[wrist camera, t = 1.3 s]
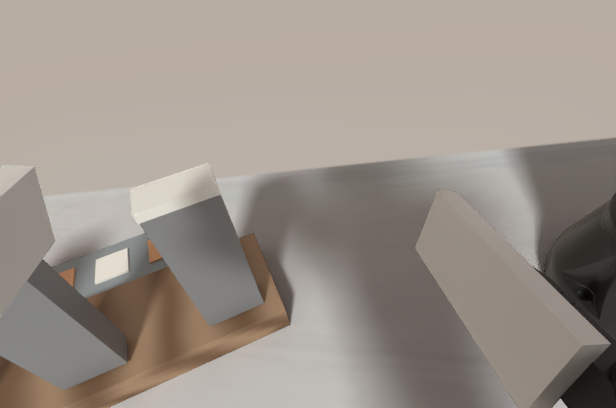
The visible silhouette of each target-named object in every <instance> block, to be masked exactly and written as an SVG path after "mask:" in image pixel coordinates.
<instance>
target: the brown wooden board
mask: <svg viewBox="0 0 616 408" xmlns="http://www.w3.org/2000/svg"><path fill="white" fill-rule="evenodd" d="M239 241H240V243H241V246H242V248H243V250H244V253H245V255H246V258H247V260H248V263H249V265H250V268H251V270H252V273H253V275H254V278H255V280H256V283H257V285H258V288H259V291H260V293H261V296H262V299H263V302H264V303H263V304H261V305H259V306H257V307H254V308H252V309H250V310H247V311H245V312H243V313H240V314H238V315H236V316H234V317H231V318H229V319H227V320H224V321H222V322H220V323H218V324H215V325H213V326H211V327H210V326H209V325H208V323H207V322H206V320H205V319H204V318H203V316H202V315H201V313H200V312H199V310H198V309H197V307H196V306H195V304H194V303H193V301H192V300H191V299H190V297H189V296H188V294H187V293H186V291H185V290H184V288H183V287H182V285H181V284H180V283H179V281H178V280H177V278H176V277H175V275H174V274H173V272H172V271H171V269H170V268H169V266H168V267H165V268H163V269H160V270H158V271H155V272H153V273H150V274H147V275H145V276H142V277H140V278H137V279H135V280H132V281H129V282H127V283H124V284H122V285H119V286H117V287H114V288H112V289H109V290H106V291H104V292H101V293H99V294H96V295H94V296H91V297H88V298H86V299H87V300H88V301H89V302H90V303H91V304H92V305H93V306H94V307H95V308H96V309H97V310H99V311H100V312H101V313H102V314H103V315H104V316H105V317H106V318H107V319H108V320H109V321H111V322H112V323H113V324H114V325H115V326H116V327H117V328H118V329H119V330H120V331H121V332H123V333H124V334H125V335H126V336H127V363H126V364H123V365H121V366H119V367H117V368H114V369H112V370H110V371H107V372H105V373H103V374H100V375H98V376H96V377H94V378H91V379H89V380H87V381H84V382H82V383H80V384H77V385H75V386H73V387H71V388H68V389H66V390H62V389H60V388H58V387H56V386H54V385H53V384H51V383H49V382H47V381H45V380H44V379H42V378H40V377H38V376H36V375H34V374H33V373H31V372H29V371H27V370H25V369H24V368H22V367H20V366H18V365H16V364H14V363H13V362H11V361H9V360H7V359H5V358H4V357H2V356H0V408H108V407H111V406H113V405H115V404H117V403H119V402H122V401H124V400H126V399H128V398H130V397H133V396H135V395H137V394H139V393H141V392H144V391H146V390H148V389H150V388H152V387H155V386H157V385H159V384H161V383H163V382H166V381H168V380H170V379H172V378H174V377H177V376H179V375H181V374H183V373H185V372H187V371H190V370H192V369H194V368H196V367H198V366H201V365H203V364H205V363H207V362H209V361H212V360H214V359H216V358H218V357H220V356H223V355H225V354H227V353H229V352H231V351H234V350H236V349H238V348H240V347H242V346H245V345H247V344H249V343H251V342H253V341H256V340H258V339H260V338H262V337H264V336H267V335H269V334H271V333H273V332H275V331H277V330H280V329H282V328H284V327H286V326H288V325H290V322H289V319H288V316H287V313H286V310H285V308H284V305H283V303H282V300H281V298H280V296H279V293H278V291H277V288H276V286H275V284H274V281H273V279H272V276H271V274H270V272H269V269H268V267H267V264H266V262H265V260H264V257H263V255H262V252H261V250H260V248H259V245H258V243H257V240H256V238H255V235H254V233H253V234H250V235H247V236H245V237H242V238H240V239H239Z"/></svg>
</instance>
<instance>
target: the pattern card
mask: <svg viewBox="0 0 616 408" xmlns="http://www.w3.org/2000/svg"><path fill="white" fill-rule="evenodd" d="M165 267H168V265H167V264H166V262H165V261H164V259H163V258H162V256H161V255H160V253H159V252H158V250H157V249H156V247H155V246H154V245H153V243H152V242H151V240H150V239H149V237H148V236H147V234H146V233H144V234H142V235H139V236H136V237H133V238H131V239H128V240H125V241H122V242H120V243H117V244H114V245H112V246H109V247H106V248H103V249H101V250H98V251H95V252H92V253H90V254H87V255H84V256H81V257H79V258H76V259H73V260H71V261H68V262H65V263H62V264H60V265H57V266H54V267H52V268H53V269H54V270H55V271H56V272H57V273H58V274H59V275H60V276H62V277H63V278H64V279H65V280H66V281H67V282H68V283H69V284H70V285H71V286H72V287H74V288H75V289H76V290H77V291H78V292H79V293H80V294H81V295H82V296H83V297H84V298H85V299H86V298H88V297H91V296H94V295H96V294H99V293H101V292H104V291H106V290H109V289H112V288H114V287H117V286H119V285H122V284H124V283H127V282H129V281H132V280H135V279H137V278H140V277H142V276H145V275H147V274H150V273H153V272H155V271H158V270H160V269H163V268H165Z"/></svg>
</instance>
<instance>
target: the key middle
mask: <svg viewBox="0 0 616 408" xmlns="http://www.w3.org/2000/svg"><path fill="white" fill-rule="evenodd" d="M0 356H2V357H4V358H5V359H7V360H9V361H11V362H13V363H14V364H16V365H18V366H20V367H22V368H24V369H25V370H27V371H29V372H31V373H33V374H34V375H36V376H38V377H40V378H42V379H44V380H45V381H47V382H49V383H51V384H53V385H54V386H56V387H58V388H60V389H62V390H66V389H68V388H71V387H73V386H75V385H77V384H80V383H82V382H84V381H87V380H89V379H91V378H94V377H96V376H98V375H100V374H103V373H105V372H107V371H110V370H112V369H114V368H117V367H119V366H121V365H123V364H126V363H127V336H126V335H125V334H124V333H123V332H121V331H120V330H119V329H118V328H117V327H116V326H115V325H114V324H113V323H112V322H111V321H109V320H108V319H107V318H106V317H105V316H104V315H103V314H102V313H101V312H100V311H99V310H97V309H96V308H95V307H94V306H93V305H92V304H91V303H90V302H89V301H88V300H87V299H85V298H84V297H83V296H82V295H81V294H80V293H79V292H78V291H77V290H76V289H75V288H74V287H72V286H71V285H70V284H69V283H68V282H67V281H66V280H65V279H64V278H63V277H62V276H60V275H59V274H58V273H57V272H56V271H55V270H54V269H53V268H52V267H51V266H50V265H48V264H47V263H46V262H45V261H44V260H43V259H42V260H41V262H40V263H39V265H38V266H37V267H36V269H35V270H34V272H33V273H32V274H31V276H30V277H29V279H28V280H27V281H26V283H25V284H24V285H23V287H22V288H21V290H20V291H19V292H18V294H17V295H16V297H15V298H14V299H13V301H12V302H11V304H10V305H9V306H8V308H7V309H6V310H5V312H4V313H3V315H2V316H1V317H0Z"/></svg>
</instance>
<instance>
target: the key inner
mask: <svg viewBox="0 0 616 408" xmlns="http://www.w3.org/2000/svg"><path fill="white" fill-rule="evenodd" d="M130 193H131V210H132V216H133V217H134V219H135V220H136V222H137V223H138V224H140V226H141V227H142V228H143V230H144V231H145V233H146V234H147V236H148V237H149V239H150V240H151V242H152V243H153V245H154V246H155V247H156V249H157V250H158V252H159V253H160V255H161V256H162V258H163V259H164V261H165V262H166V264H167V265H168V266H169V268H170V269H171V271H172V272H173V274H174V275H175V277H176V278H177V280H178V281H179V283H180V284H181V285H182V287H183V288H184V290H185V291H186V293H187V294H188V296H189V297H190V299H191V300H192V301H193V303H194V304H195V306H196V307H197V309H198V310H199V312H200V313H201V315H202V316H203V318H204V319H205V320H206V322H207V323H208V325H209V326H210V327H211V326H213V325H215V324H218V323H220V322H222V321H224V320H227V319H229V318H231V317H234V316H236V315H238V314H240V313H243V312H245V311H247V310H250V309H252V308H254V307H257V306H259V305H261V304H263V303H264V302H263V299H262V296H261V293H260V291H259V288H258V285H257V283H256V280H255V278H254V275H253V273H252V270H251V268H250V265H249V263H248V260H247V258H246V255H245V253H244V250H243V248H242V246H241V243H240V241H239V238H238V236H237V233H236V231H235V228H234V226H233V223H232V221H231V218H230V216H229V213H228V211H227V209H226V206H225V204H224V201H223V199H222V196H221V194H220V191H219V189H218V186H217V183H216V180H215V178H214V175H213V172H212V169H211V167H210V165H209V163H205V164H202V165H200V166H197V167H194V168H191V169H188V170H185V171H182V172H179V173H176V174H173V175H170V176H167V177H164V178H161V179H158V180H155V181H152V182H149V183H146V184H143V185H140V186H137V187H134V188H131V189H130Z"/></svg>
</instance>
